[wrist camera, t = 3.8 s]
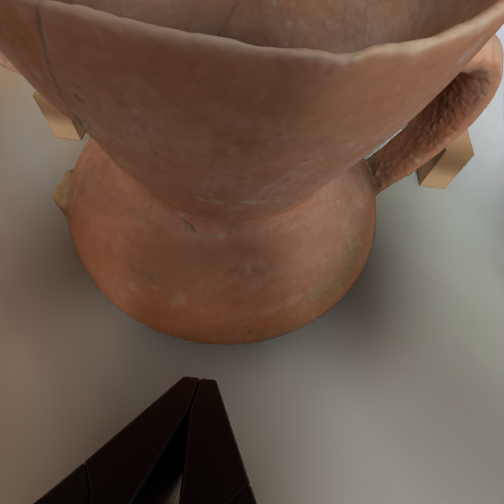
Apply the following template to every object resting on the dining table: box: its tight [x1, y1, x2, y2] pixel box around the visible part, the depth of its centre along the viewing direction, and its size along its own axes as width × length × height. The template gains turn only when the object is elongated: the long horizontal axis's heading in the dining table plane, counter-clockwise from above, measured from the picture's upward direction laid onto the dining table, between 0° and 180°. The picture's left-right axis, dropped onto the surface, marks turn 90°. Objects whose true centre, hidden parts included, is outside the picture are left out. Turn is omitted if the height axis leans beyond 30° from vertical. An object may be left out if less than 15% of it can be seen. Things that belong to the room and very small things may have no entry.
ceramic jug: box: [0, 0, 504, 345], centre depth 13 cm, size 18×14×14 cm
